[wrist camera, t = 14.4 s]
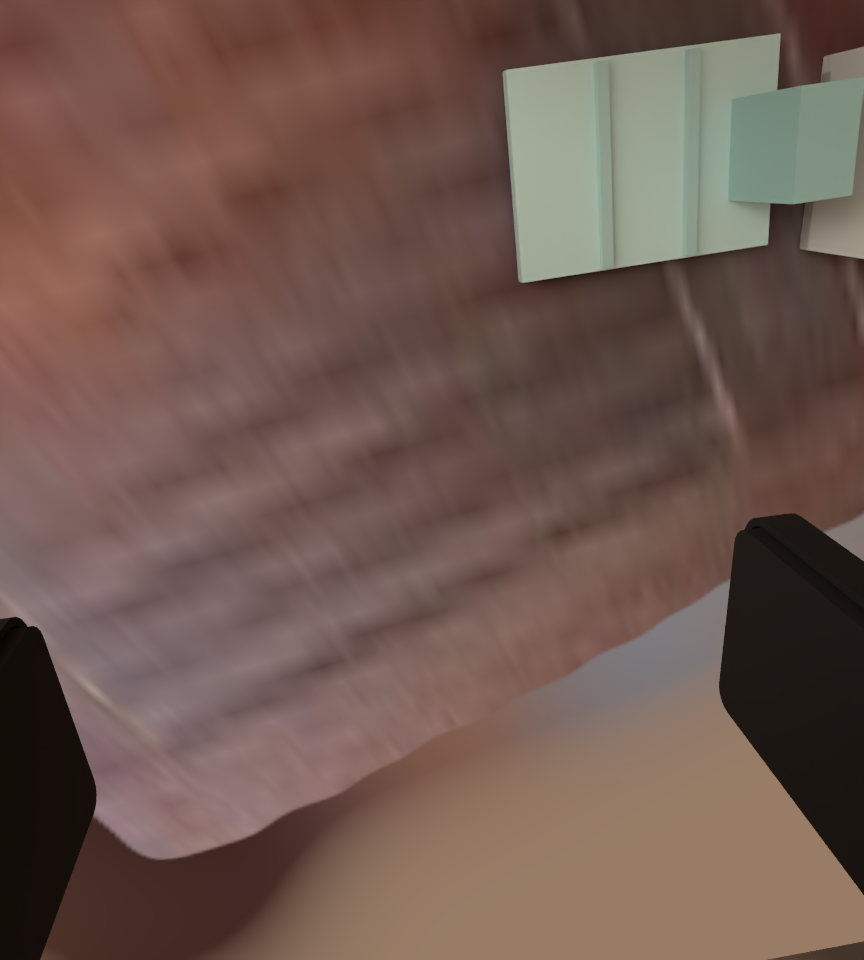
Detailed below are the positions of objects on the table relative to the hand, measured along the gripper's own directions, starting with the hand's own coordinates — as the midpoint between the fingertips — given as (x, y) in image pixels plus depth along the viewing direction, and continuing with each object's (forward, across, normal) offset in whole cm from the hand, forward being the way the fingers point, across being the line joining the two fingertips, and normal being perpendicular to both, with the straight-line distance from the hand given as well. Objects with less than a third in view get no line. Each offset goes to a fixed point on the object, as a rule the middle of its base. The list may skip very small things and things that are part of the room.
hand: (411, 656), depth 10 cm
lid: (+33, -17, -5) cm, 38 cm away
